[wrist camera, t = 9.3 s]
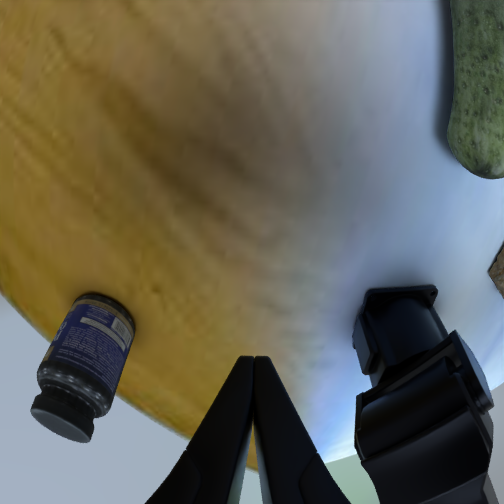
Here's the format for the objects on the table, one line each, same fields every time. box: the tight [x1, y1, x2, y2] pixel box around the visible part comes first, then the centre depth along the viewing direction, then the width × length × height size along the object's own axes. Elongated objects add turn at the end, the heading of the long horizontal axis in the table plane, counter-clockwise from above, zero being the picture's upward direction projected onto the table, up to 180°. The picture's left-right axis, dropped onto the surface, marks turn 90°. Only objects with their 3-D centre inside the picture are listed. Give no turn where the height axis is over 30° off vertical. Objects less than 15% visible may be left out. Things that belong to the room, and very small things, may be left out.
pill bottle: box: [31, 295, 135, 443], centre depth 20 cm, size 6×6×11 cm
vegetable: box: [447, 0, 504, 179], centre depth 11 cm, size 14×5×5 cm
